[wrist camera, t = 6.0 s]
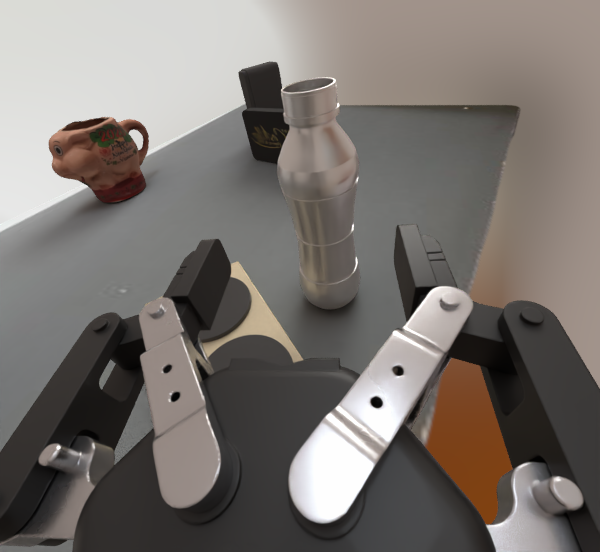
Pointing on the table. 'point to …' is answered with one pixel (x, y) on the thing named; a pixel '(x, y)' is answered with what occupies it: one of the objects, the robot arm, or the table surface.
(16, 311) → the table surface
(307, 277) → the silver bottle
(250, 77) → the dark grey upright block
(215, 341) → the hob
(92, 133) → the animal head mug
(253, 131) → the nameplate
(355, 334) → the table surface
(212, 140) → the table surface
